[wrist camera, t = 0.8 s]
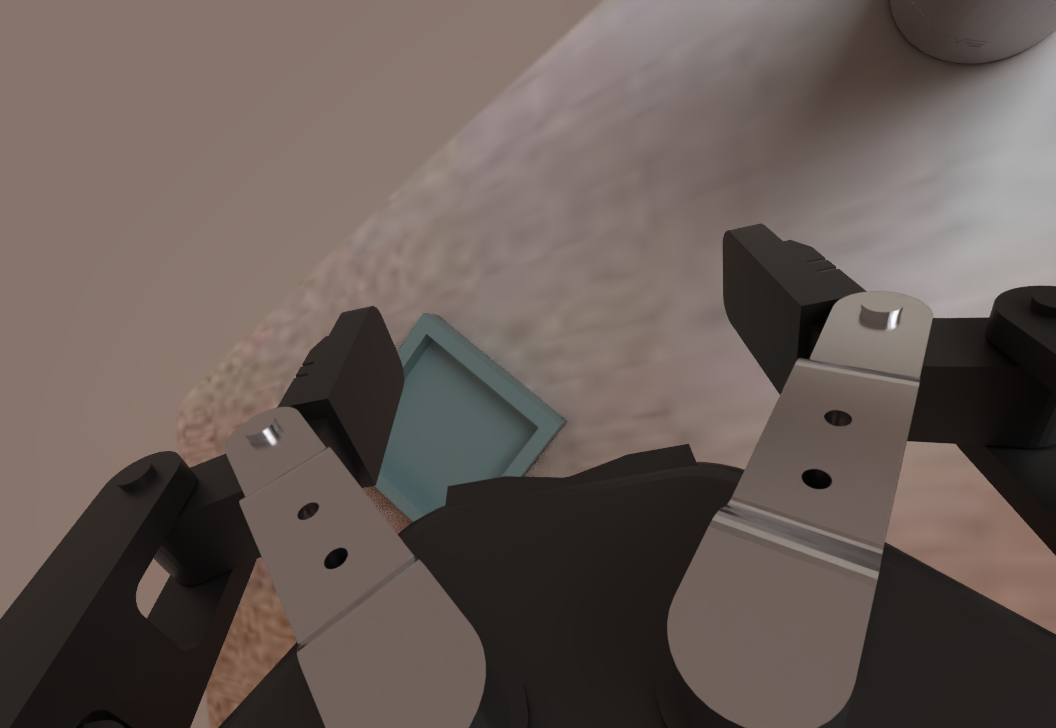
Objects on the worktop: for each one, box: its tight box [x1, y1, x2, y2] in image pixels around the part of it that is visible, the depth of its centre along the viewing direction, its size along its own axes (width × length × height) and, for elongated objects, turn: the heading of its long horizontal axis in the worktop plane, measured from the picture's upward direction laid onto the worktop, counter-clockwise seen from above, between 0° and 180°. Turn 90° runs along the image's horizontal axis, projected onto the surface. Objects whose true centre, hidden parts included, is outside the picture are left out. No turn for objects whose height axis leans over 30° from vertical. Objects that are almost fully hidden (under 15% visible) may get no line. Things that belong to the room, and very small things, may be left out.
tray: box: [375, 313, 567, 522], centre depth 37 cm, size 12×12×2 cm
